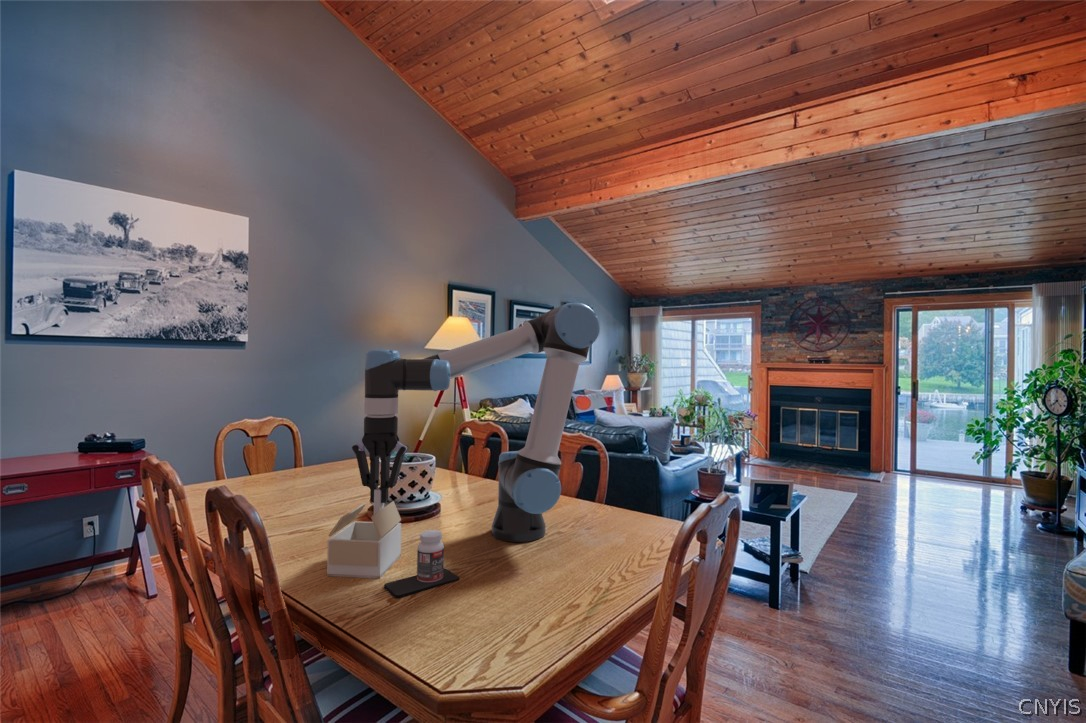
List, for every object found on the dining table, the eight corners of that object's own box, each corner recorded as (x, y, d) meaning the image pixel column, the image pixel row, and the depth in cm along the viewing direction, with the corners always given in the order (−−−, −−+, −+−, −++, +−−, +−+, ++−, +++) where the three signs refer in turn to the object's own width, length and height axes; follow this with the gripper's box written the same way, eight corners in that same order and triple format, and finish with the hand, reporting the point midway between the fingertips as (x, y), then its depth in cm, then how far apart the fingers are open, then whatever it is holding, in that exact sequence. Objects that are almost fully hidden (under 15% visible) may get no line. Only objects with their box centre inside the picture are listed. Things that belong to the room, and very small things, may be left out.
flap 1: (355, 519, 121) (366, 503, 121) (330, 536, 109) (342, 518, 109) (353, 518, 122) (364, 501, 121) (328, 535, 109) (341, 517, 109)
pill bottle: (436, 585, 105) (437, 539, 105) (412, 582, 106) (412, 536, 106) (447, 574, 110) (448, 530, 111) (423, 572, 112) (424, 528, 112)
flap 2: (401, 519, 121) (393, 500, 121) (381, 537, 108) (372, 516, 109) (399, 520, 121) (391, 501, 121) (379, 538, 108) (370, 517, 109)
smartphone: (461, 578, 108) (396, 596, 98) (461, 582, 108) (395, 601, 98) (445, 567, 114) (381, 583, 104) (445, 571, 114) (381, 588, 104)
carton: (401, 554, 121) (401, 522, 121) (379, 579, 108) (379, 542, 108) (354, 552, 122) (354, 520, 122) (326, 576, 108) (326, 540, 108)
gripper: (413, 414, 118) (411, 512, 118) (361, 413, 119) (359, 510, 119) (402, 418, 111) (400, 522, 111) (346, 416, 112) (344, 520, 112)
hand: (378, 516), depth 115 cm, fingers closed
